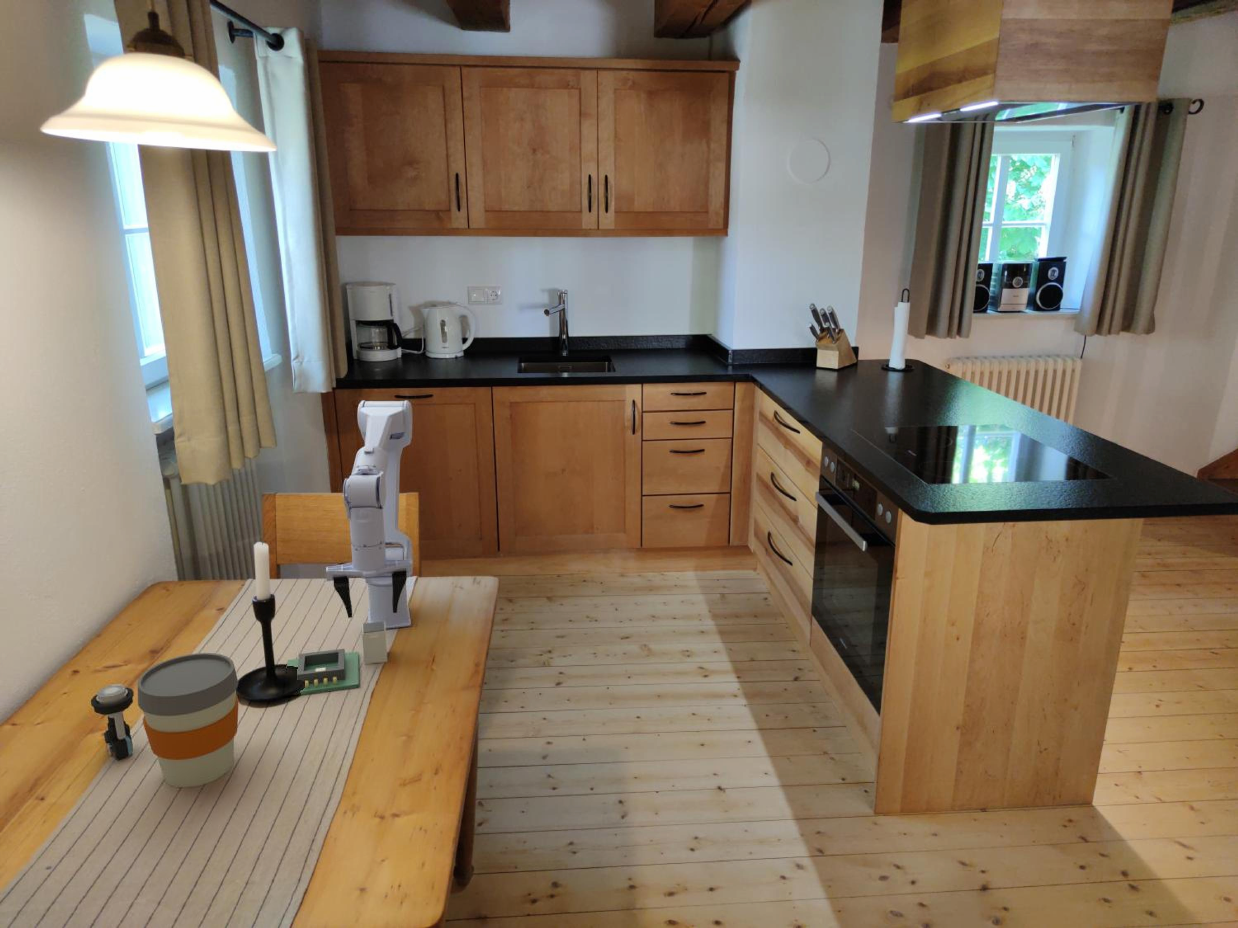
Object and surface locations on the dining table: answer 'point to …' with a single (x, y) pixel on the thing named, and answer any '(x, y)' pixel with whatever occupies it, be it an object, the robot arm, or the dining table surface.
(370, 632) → the plug
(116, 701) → the push button
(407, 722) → the dining table surface
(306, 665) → the header socket
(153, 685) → the reusable coffee cup
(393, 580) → the robot arm
